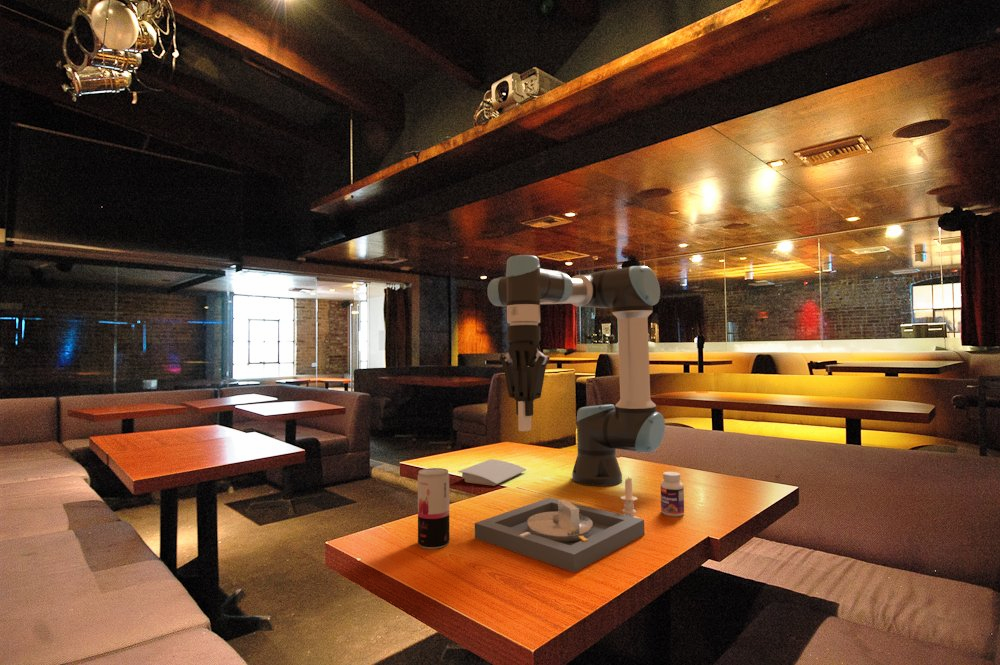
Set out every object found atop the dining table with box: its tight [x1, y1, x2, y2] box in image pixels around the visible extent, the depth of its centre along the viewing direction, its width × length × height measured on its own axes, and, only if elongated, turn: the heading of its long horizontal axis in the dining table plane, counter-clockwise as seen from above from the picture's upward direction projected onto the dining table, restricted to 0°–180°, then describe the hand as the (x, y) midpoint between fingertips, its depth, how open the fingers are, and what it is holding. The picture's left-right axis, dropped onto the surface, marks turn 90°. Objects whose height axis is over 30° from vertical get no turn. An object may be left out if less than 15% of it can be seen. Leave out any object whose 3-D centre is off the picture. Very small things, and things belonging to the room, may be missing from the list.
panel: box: [474, 497, 645, 573], centre depth 111 cm, size 26×26×4 cm
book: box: [457, 458, 527, 487], centre depth 165 cm, size 15×23×4 cm, turn 152°
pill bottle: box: [660, 471, 685, 517], centre depth 126 cm, size 5×5×10 cm
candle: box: [620, 476, 641, 519], centre depth 121 cm, size 5×5×10 cm
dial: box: [527, 499, 593, 543], centre depth 110 cm, size 16×14×7 cm
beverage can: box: [417, 467, 451, 550], centre depth 108 cm, size 6×6×15 cm
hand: (524, 430), depth 114 cm, fingers closed
